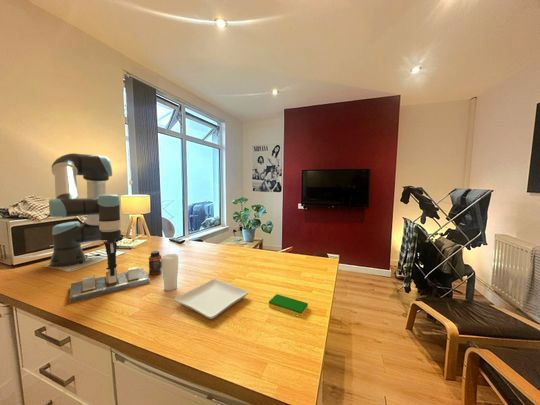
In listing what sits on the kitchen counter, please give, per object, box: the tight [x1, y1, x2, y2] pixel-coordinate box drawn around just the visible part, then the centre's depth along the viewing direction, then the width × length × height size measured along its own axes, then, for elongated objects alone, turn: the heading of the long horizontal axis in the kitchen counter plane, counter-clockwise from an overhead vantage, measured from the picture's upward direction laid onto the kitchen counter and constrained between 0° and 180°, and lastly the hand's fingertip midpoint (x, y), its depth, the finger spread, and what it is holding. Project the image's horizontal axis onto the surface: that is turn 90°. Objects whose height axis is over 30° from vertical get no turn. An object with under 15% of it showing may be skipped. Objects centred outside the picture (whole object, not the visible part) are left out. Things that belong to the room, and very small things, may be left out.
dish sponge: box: [268, 293, 309, 318], centre depth 84 cm, size 7×14×2 cm, turn 61°
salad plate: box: [174, 278, 249, 320], centre depth 86 cm, size 21×21×3 cm
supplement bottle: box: [148, 250, 163, 276], centre depth 113 cm, size 6×6×11 cm
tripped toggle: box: [105, 268, 118, 283], centre depth 98 cm, size 2×4×5 cm, turn 131°
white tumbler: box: [161, 253, 179, 292], centre depth 96 cm, size 7×7×15 cm
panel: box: [68, 266, 151, 304], centre depth 99 cm, size 16×28×7 cm, turn 131°
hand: (112, 282), depth 95 cm, fingers closed
